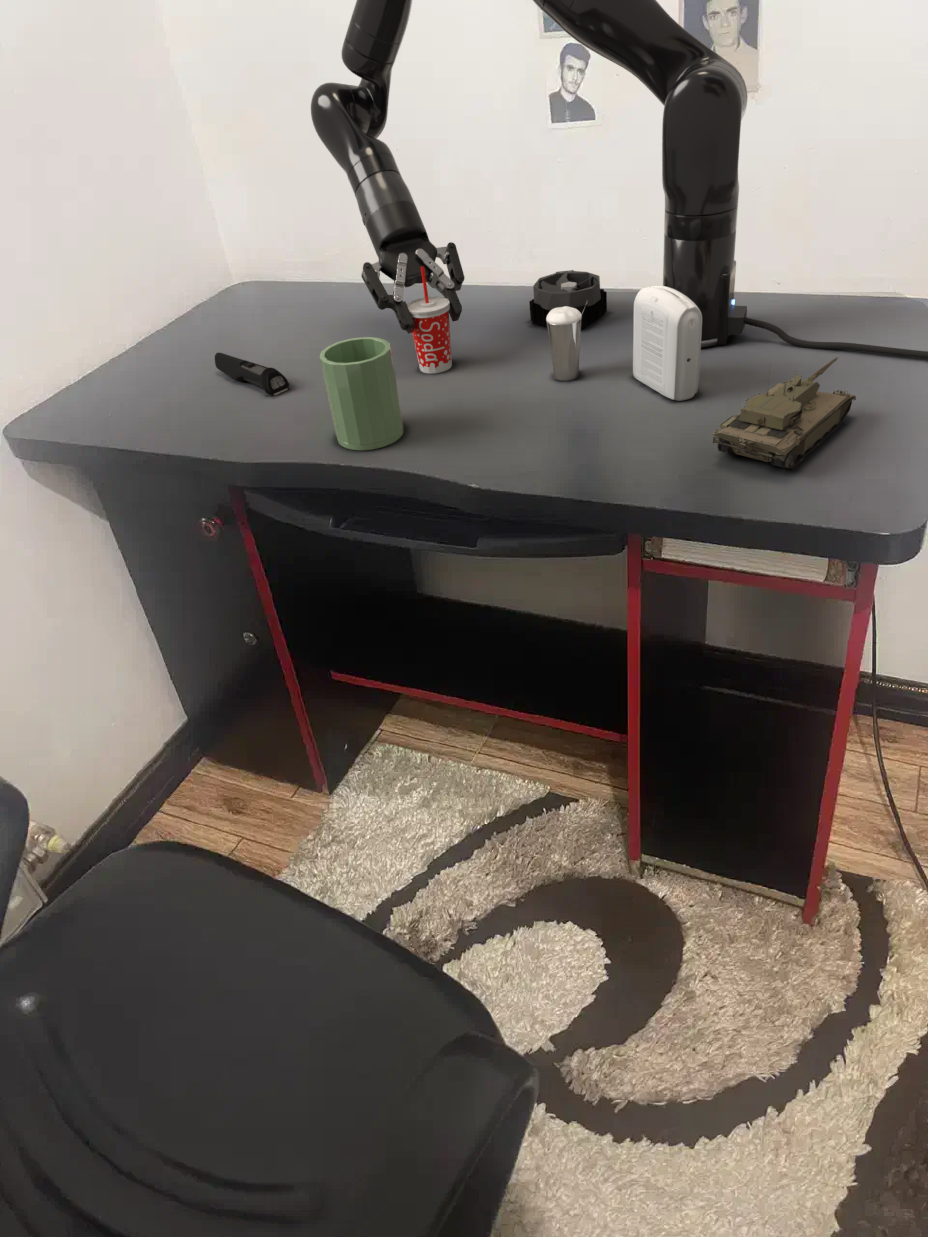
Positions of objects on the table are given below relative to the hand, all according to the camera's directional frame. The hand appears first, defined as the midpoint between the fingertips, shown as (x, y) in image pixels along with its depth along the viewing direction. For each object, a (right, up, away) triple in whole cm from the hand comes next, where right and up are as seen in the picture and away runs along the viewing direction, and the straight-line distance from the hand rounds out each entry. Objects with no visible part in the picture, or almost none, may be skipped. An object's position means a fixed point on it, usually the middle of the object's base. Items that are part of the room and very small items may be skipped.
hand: (434, 323), depth 125 cm
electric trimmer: (-27, -6, +9) cm, 29 cm away
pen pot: (-8, -17, -10) cm, 21 cm away
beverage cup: (0, -5, +5) cm, 7 cm away
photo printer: (+30, -11, -8) cm, 33 cm away
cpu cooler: (+20, +6, +15) cm, 26 cm away
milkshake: (+18, -8, -2) cm, 20 cm away
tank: (+41, -20, -22) cm, 50 cm away
